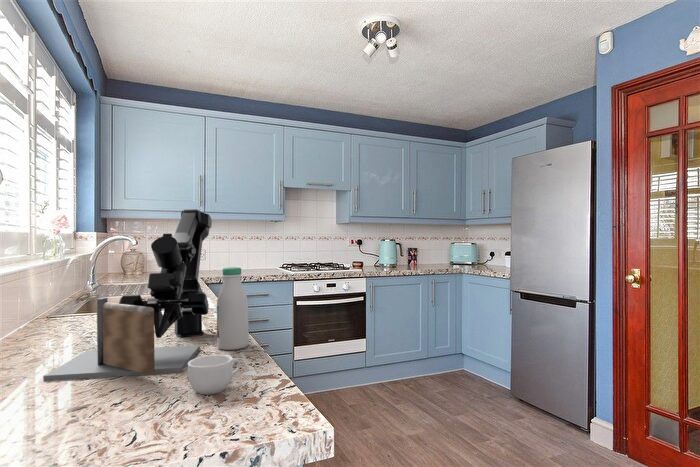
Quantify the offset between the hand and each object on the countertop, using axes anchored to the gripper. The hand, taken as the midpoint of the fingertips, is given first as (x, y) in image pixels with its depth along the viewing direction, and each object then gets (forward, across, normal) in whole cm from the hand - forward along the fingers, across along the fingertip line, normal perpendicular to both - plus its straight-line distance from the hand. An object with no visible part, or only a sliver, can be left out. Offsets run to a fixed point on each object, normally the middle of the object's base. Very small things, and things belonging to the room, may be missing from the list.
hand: (158, 336), depth 92 cm
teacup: (+17, +15, -9) cm, 24 cm away
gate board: (+3, -6, +6) cm, 9 cm away
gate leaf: (+8, -4, -2) cm, 9 cm away
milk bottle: (-4, +14, +13) cm, 20 cm away
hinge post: (+4, -11, +3) cm, 12 cm away
